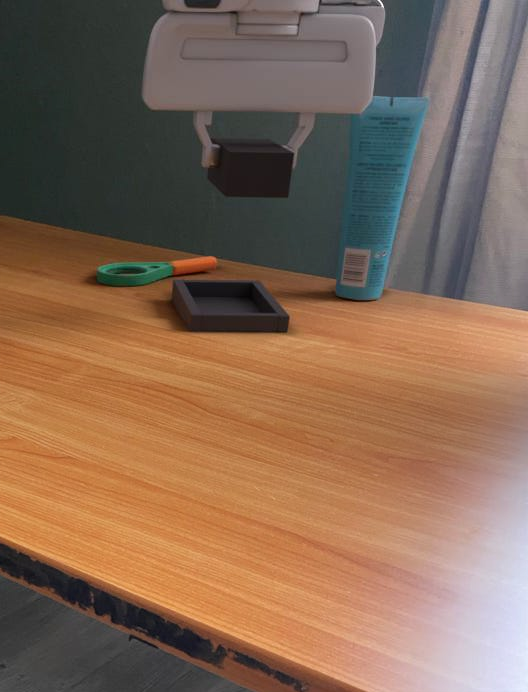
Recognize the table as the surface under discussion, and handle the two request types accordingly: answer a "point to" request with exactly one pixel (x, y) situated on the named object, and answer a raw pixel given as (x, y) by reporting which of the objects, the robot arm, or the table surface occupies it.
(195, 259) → the magnifying glass
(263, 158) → the black block
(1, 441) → the table surface
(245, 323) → the black tray
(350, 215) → the tube
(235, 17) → the robot arm
